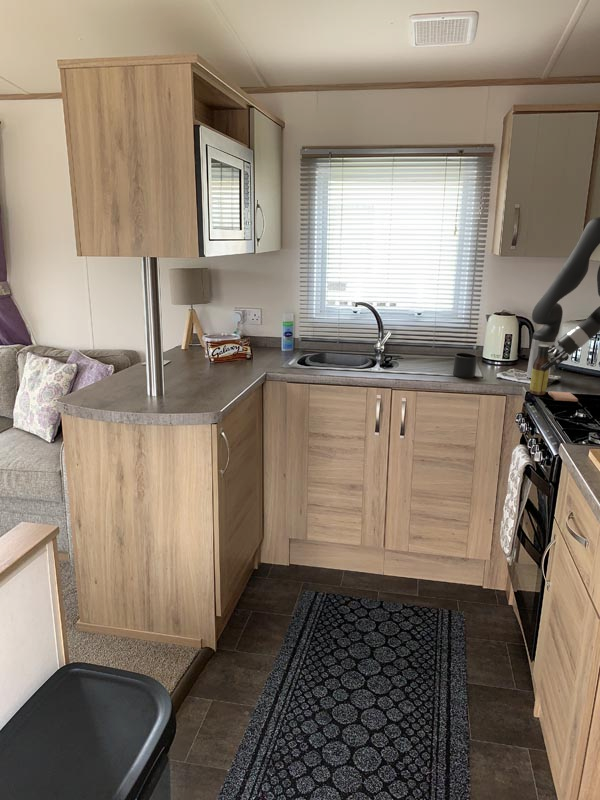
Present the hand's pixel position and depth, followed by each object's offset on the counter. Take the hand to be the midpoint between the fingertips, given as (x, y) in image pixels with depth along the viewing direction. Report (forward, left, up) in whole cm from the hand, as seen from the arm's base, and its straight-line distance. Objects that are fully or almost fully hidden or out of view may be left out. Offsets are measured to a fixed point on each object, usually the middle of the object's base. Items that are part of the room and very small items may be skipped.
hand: (538, 367), depth 242 cm
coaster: (+3, +10, -11) cm, 15 cm away
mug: (-23, -24, -11) cm, 35 cm away
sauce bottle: (0, +1, -11) cm, 11 cm away
